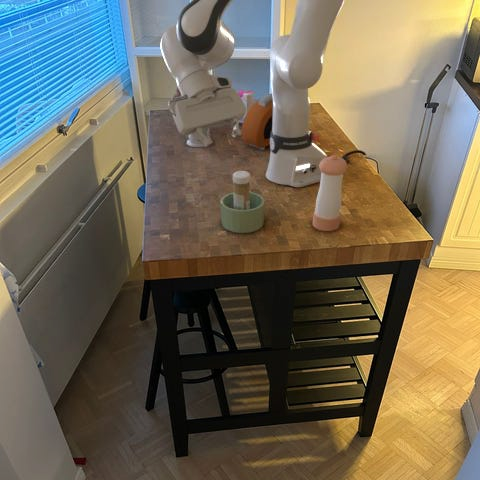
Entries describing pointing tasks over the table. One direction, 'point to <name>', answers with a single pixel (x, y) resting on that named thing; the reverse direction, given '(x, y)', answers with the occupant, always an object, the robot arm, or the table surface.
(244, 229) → the cup
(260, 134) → the alarm clock
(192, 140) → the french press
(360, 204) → the table surface
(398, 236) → the table surface
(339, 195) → the salt shaker
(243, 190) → the sprinkles bottle
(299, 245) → the table surface
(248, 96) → the supplement box
